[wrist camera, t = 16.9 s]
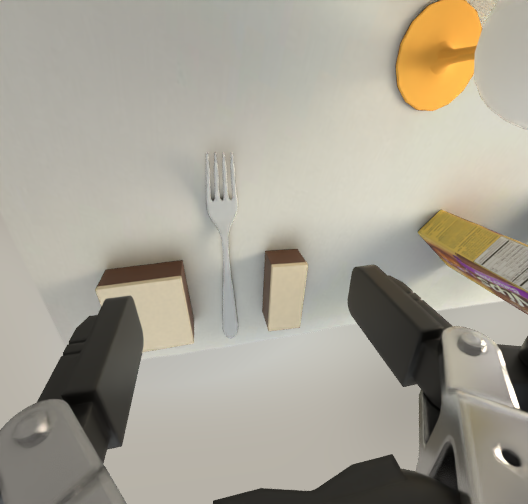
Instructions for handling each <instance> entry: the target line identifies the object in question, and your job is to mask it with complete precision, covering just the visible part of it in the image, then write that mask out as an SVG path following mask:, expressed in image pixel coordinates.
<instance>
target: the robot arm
mask: <svg viewBox="0 0 528 504" xmlns="http://www.w3.org/2000/svg"><path fill="white" fill-rule="evenodd" d="M348 308H349V311H350V313H351V315H352V317H353V318H354V320H355V321H356V322H357V324H358V325H359V326H360V328H361V329H362V331H363V332H364V333H365V335H366V336H367V338H368V339H369V340H370V342H371V343H372V344H373V346H374V347H375V349H376V350H377V351H378V353H379V354H380V356H381V357H382V358H383V360H384V361H385V362H386V364H387V365H388V367H389V368H390V369H391V371H392V372H393V374H394V375H395V376H396V378H397V379H398V380H399V382H400V383H401V385H402V386H403V387H406V386H410V385H415V384H418V386H419V387H420V388H421V391H420V394H419V458H418V463H417V468H416V472H415V471H410V470H406V469H400V467H399V465H398V463H397V461H396V460H395V458H394V456H393V455H392V454H391V455H387V456H384V457H380V458H376V459H372V460H369V461H364V462H360V463H357V464H353V465H351V466H350V467H348V468H346V469H345V470H343V471H342V472H341V473H339V474H338V475H336V476H335V477H333V478H332V479H330V480H329V481H327V482H326V483H324V484H323V485H321V486H320V487H319V488H317V489H315V490H312V491H297V490H281V489H263V488H260V489H257V490H253V491H249V492H245V493H241V494H237V495H233V496H230V497H226V498H222V499H218V500H214V501H213V504H528V336H527V338H526V339H525V341H524V343H523V345H522V346H511V345H499V344H496V343H495V342H494V341H492V340H491V339H490V338H489V337H487V336H486V335H484V334H482V333H480V332H478V331H475V330H473V329H470V328H466V327H460V326H452V325H451V324H449V323H448V322H447V321H446V320H445V319H444V318H443V317H442V316H440V315H439V314H438V313H437V312H436V311H435V310H434V309H433V308H431V307H430V306H429V305H428V304H427V303H426V302H425V301H423V300H421V298H420V297H419V296H418V295H417V294H416V293H413V291H412V290H411V289H410V288H409V287H408V286H406V285H405V284H404V283H403V282H401V281H399V280H397V279H395V278H393V277H391V276H387V275H386V274H385V273H384V272H383V271H382V270H381V269H380V268H379V267H378V266H376V265H367V266H359V267H355V268H354V269H353V271H352V275H351V282H350V288H349V295H348ZM143 344H144V337H143V330H142V327H141V323H140V320H139V316H138V313H137V309H136V306H135V303H134V299H133V297H132V296H122V297H115V298H107V299H105V301H104V302H103V305H102V307H101V309H100V311H99V313H98V315H95V316H89V317H88V318H87V319H86V320H85V321H84V322H83V323H81V324H80V325H79V326H78V327H77V328H76V330H75V332H74V333H73V335H72V337H71V339H70V341H69V345H67V347H66V348H65V350H64V352H63V356H62V357H61V358H60V360H59V362H58V364H57V365H56V367H55V369H54V371H53V373H52V375H51V377H50V379H49V381H48V383H47V384H46V386H45V388H44V390H43V392H42V394H41V396H40V398H39V399H38V401H37V403H35V404H33V405H31V406H29V407H27V408H25V409H24V410H22V411H21V412H19V413H18V414H16V415H15V416H14V417H13V418H12V419H10V420H9V422H7V423H6V424H5V425H4V427H3V428H2V429H1V430H0V504H127V503H126V502H125V500H124V498H123V497H122V495H121V493H120V491H119V490H118V488H117V486H116V484H115V483H114V481H113V479H112V478H111V476H110V474H109V472H108V471H107V469H106V467H105V466H104V465H103V463H104V459H105V455H106V451H107V449H111V448H116V447H121V446H122V443H123V438H124V434H125V429H126V424H127V420H128V415H129V410H130V406H131V402H132V397H133V392H134V388H135V383H136V379H137V374H138V369H139V365H140V360H141V356H142V351H143Z"/></svg>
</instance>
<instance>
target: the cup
mask: <svg viewBox="0 0 528 504" xmlns="http://www.w3.org/2000/svg"><path fill="white" fill-rule="evenodd" d="M473 74H474V80H475V83H476V86H477V88H478V91H479V94H480V97H481V98H482V100H483V101H484V102H485V104H486V105H487V106H488V108H489V109H491V110H492V111H493V112H494V113H496V114H497V115H498V116H499V117H501V118H502V119H503V120H505V121H507V122H509V123H512V124H514V125H516V126H518V127H521V128H523V129H526V130H528V0H498V2H497V3H496V5H495V6H494V8H493V10H492V11H491V13H490V15H489V16H488V18H487V20H486V21H485V23H484V25H483V28H482V27H481V23H480V20H479V17H478V14H477V11H476V10H475V9H474V8H473V7H472V6H471V5H470V4H469V3H468V2H467V1H465V0H440V1H438V2H435V3H433V4H430V5H428V6H427V7H426V8H425V9H424V10H423V11H422V12H421V13H420V14H419V15H418V16H417V17H416V18H415V19H414V20H413V21H412V23H411V25H410V27H409V29H408V30H407V32H406V34H405V36H404V38H403V40H402V42H401V44H400V49H399V53H398V58H397V62H396V76H397V87H398V89H399V91H400V93H401V95H402V97H403V99H404V100H405V102H406V103H408V104H409V105H411V106H412V107H414V108H415V109H417V110H428V111H433V110H436V109H438V108H441V107H443V106H445V105H448V104H449V103H450V102H451V101H452V100H454V99H455V98H456V97H457V96H458V95H459V94H460V93H461V92H462V91H463V90H464V89H465V87H466V85H467V84H468V82H469V81H470V79H471V78H472V76H473Z"/></svg>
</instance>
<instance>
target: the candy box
mask: <svg viewBox="0 0 528 504" xmlns="http://www.w3.org/2000/svg"><path fill="white" fill-rule="evenodd" d="M418 234H419V235H420V236H421V237H422V238H423V239H424V240H425V241H426V243H428V245H429V246H430V247H431V248H432V249H433V250H434V251H435V252H436V253H437V254H438V255H439V257H440V258H441V259H442V260H443V261H444V263H445V264H446V265H447V266H449V267H451V268H452V269H454V270H456V271H457V272H459V273H461V274H462V275H464V276H465V277H467V278H469V279H470V280H472V281H474V282H475V283H477V284H478V285H480V286H482V287H483V288H485V289H486V290H488V291H490V292H491V293H493V294H495V295H496V296H498V297H500V298H501V299H503V300H505V301H507V302H508V303H510V304H512V305H513V306H515V307H516V308H518V309H519V310H521V311H523V312H524V313H526V314H528V245H526V244H524V243H521V242H519V241H517V240H514V239H512V238H509V237H507V236H504V235H502V234H499V233H497V232H494V231H492V230H490V229H487V228H485V227H482V226H480V225H478V224H475V223H473V222H470V221H468V220H465V219H463V218H460V217H458V216H455V215H453V214H450V213H448V212H446V211H443V210H440V211H439V212H438V213H437V214H436V215H435V216H434V217H433V218H431V219H430V220H429V221H428V222H427V223H426V224H425V225H424V226H423V227H422V228H421V229H420V230H419V231H418Z"/></svg>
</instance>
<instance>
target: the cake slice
mask: <svg viewBox="0 0 528 504" xmlns="http://www.w3.org/2000/svg"><path fill="white" fill-rule="evenodd" d="M307 270H308V264H307V262H306V261H305V259H304V258H303V257H302V255H301V254H300V252H299V251H298V249H291V250H275V251H265V266H264V288H263V309H262V312H263V315H264V318H265V321H266V324H267V327H268V331H276V330H284V329H292V328H300V324H301V316H302V308H303V301H304V293H305V285H306V277H307Z"/></svg>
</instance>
